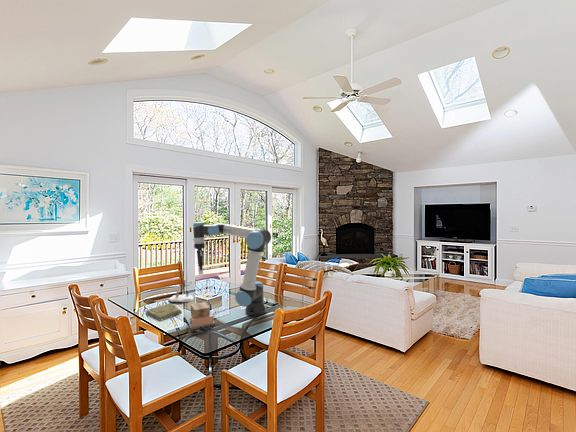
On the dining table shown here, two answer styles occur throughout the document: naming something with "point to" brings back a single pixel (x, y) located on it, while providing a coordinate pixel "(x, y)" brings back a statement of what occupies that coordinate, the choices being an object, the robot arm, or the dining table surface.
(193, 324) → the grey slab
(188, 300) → the figurine
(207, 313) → the oak block
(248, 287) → the robot arm
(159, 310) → the decorative tile
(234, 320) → the dining table surface
